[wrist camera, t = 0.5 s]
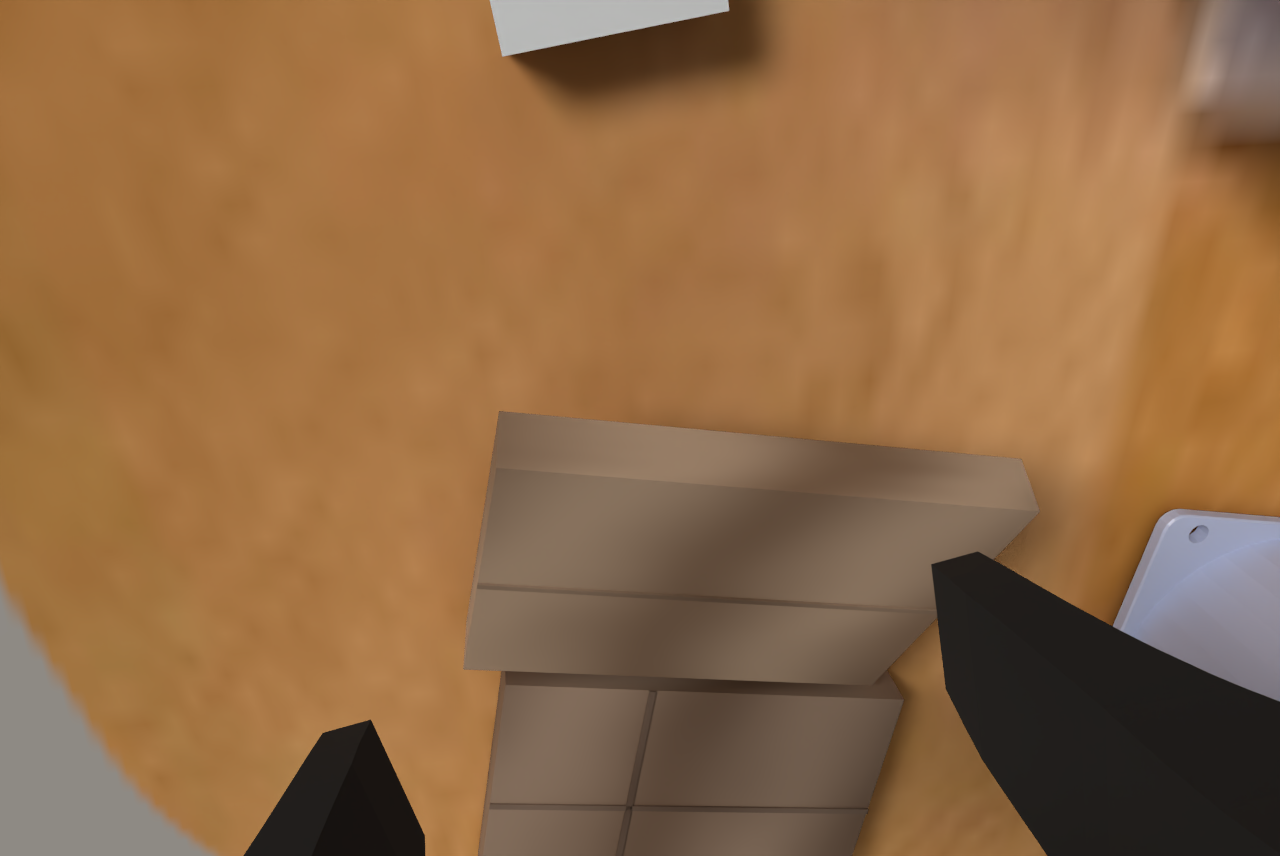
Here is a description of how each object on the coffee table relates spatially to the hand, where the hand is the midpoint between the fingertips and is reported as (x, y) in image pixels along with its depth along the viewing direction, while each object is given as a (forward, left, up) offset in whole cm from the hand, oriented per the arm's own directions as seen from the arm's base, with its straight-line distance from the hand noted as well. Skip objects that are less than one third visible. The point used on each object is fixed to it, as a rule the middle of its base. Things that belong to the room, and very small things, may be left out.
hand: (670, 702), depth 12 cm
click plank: (-3, +2, -8) cm, 9 cm away
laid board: (-4, +10, -10) cm, 15 cm away
